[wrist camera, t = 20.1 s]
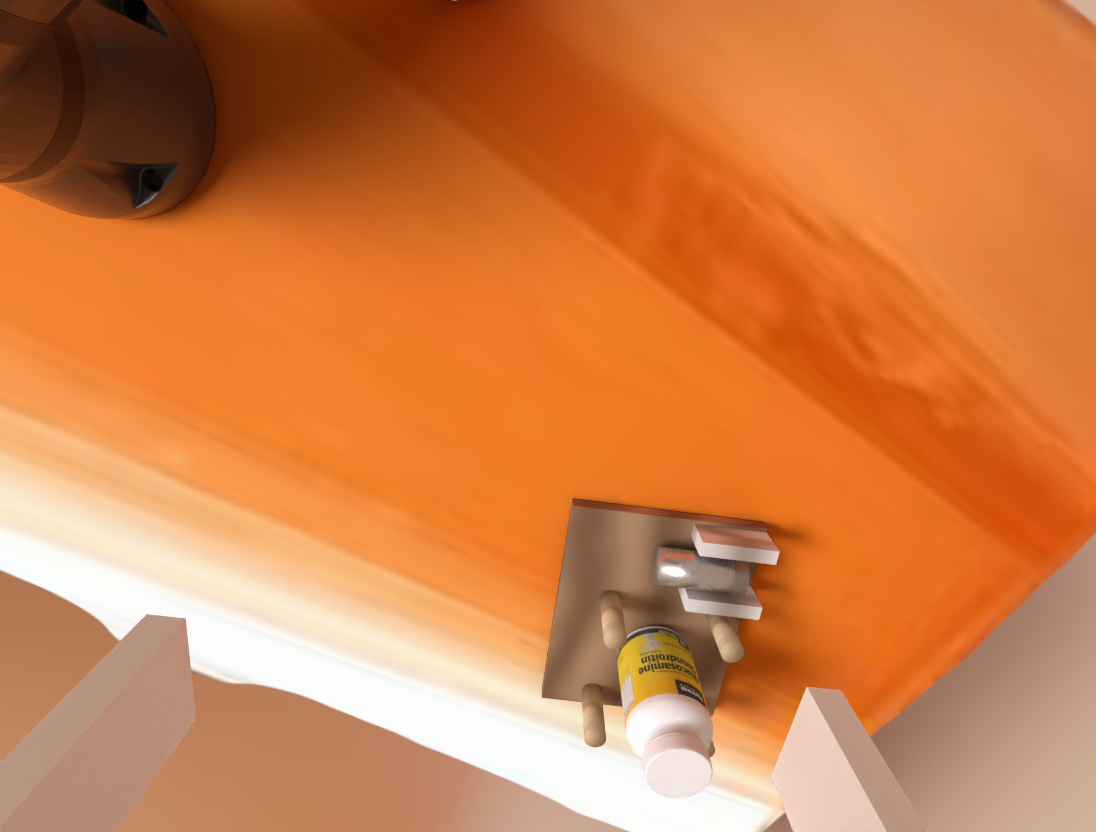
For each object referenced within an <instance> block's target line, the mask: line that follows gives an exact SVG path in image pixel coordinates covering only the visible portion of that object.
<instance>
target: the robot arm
mask: <svg viewBox="0 0 1096 832" xmlns="http://www.w3.org/2000/svg"><path fill="white" fill-rule="evenodd" d="M214 137H215V106H214V99H213V93H212V89H211V84H210V81H209V77H208V74H207V71H206V69H205V66H204V63H203V61H202V59H201V56H200V54H199V52H198V50H197V48H196V46H195V44H194V42H193V41H192V39H191V37H190V36H189V34H188V32H187V31H186V29H185V28H184V26H183V25H182V24H181V22H180V21H179V20H178V18H177V17H176V16H175V15H174V14H173V12H172V11H171V10H170V9H169V8H168V7H167V6H166V5H165V4H164V3H163V2H162V1H161V0H0V184H1V185H3V186H5V187H8V188H10V189H12V190H15V191H17V192H20V193H22V194H24V195H27V196H29V197H31V198H34V199H36V200H39V201H41V202H43V203H46V204H48V205H50V206H53V207H55V208H58V209H60V210H63V211H66V212H69V213H73V214H77V215H81V216H85V217H91V218H100V219H140V218H146V217H150V216H154V215H157V214H160V213H162V212H165V211H167V210H169V209H170V208H172V207H174V206H175V205H177V204H178V203H180V202H181V201H182V200H183V199H185V198H186V197H187V196H188V195H189V194H190V193H191V192H192V190H193V189H194V188H195V187H196V185H197V184H198V182H199V181H200V179H201V178H202V176H203V174H204V172H205V170H206V168H207V165H208V163H209V160H210V157H211V153H212V149H213V144H214ZM195 720H196V714H195V704H194V695H193V685H192V676H191V666H190V657H189V647H188V638H187V628H186V619H184V618H175V617H166V616H157V615H148V614H147V615H146V616H145V617H144V618H143V619H142V620H141V621H140V622H139V623H138V624H137V625H136V626H135V627H134V628H133V629H132V630H131V631H130V632H129V633H128V634H127V635H126V636H125V637H124V638H123V639H122V640H121V641H120V642H119V643H118V644H117V645H116V646H115V647H114V648H113V649H112V650H111V651H110V652H109V653H108V654H107V655H106V656H105V657H104V658H103V659H102V660H101V661H100V662H99V663H98V664H97V665H96V666H95V667H94V668H93V669H92V670H91V671H90V672H89V673H88V674H87V675H86V676H85V677H84V678H83V679H82V680H81V681H80V682H79V683H78V684H77V685H76V686H75V687H74V688H73V689H72V690H71V691H70V692H69V693H68V694H67V695H66V696H65V697H64V698H63V699H62V700H61V701H60V702H59V703H58V704H57V705H56V706H55V707H54V708H53V709H52V710H51V711H50V712H49V713H48V714H47V715H46V716H45V717H44V718H43V719H42V720H41V721H40V722H39V723H38V725H36V726H35V727H34V728H33V730H31V731H30V732H29V733H28V734H27V735H26V736H25V737H24V738H23V739H22V740H21V741H20V742H19V743H18V744H17V746H16V747H14V748H13V749H12V750H11V752H9V753H8V754H7V755H6V756H5V757H4V759H2V761H1V762H0V832H118V831H119V829H120V828H121V826H122V825H123V823H124V822H125V821H126V819H127V818H128V816H129V815H130V813H131V812H132V810H133V809H134V808H135V806H136V805H137V803H138V802H139V800H140V799H141V797H142V796H143V795H144V793H145V792H146V790H147V789H148V787H149V786H150V784H151V783H152V782H153V780H154V779H155V777H156V776H157V774H158V773H159V772H160V770H161V769H162V767H163V766H164V764H165V763H166V761H167V760H168V759H169V757H170V756H171V754H172V753H173V751H174V750H175V748H176V747H177V745H178V744H179V743H180V741H181V740H182V738H183V737H184V735H185V734H186V733H187V731H188V730H189V728H190V727H191V725H192V724H193V722H194V721H195ZM771 777H772V779H773V782H774V784H775V787H776V789H777V792H778V794H779V797H780V800H781V802H782V805H783V807H784V810H785V812H786V815H787V817H788V820H789V822H790V825H791V827H792V829H793V832H928V831H927V829H926V827H925V826H924V824H923V822H922V821H921V819H920V817H919V816H918V814H917V813H916V811H915V809H914V808H913V806H912V805H911V803H910V801H909V800H908V798H907V796H906V795H905V793H904V792H903V790H902V788H901V787H900V785H899V783H898V782H897V780H896V779H895V777H894V775H893V774H892V772H891V771H890V769H889V767H888V766H887V764H886V762H885V761H884V759H883V758H882V756H881V754H880V753H879V751H878V749H877V748H876V746H875V745H874V743H873V741H872V740H871V738H870V736H869V735H868V733H867V732H866V730H865V728H864V727H863V725H862V724H861V722H860V720H859V719H858V717H857V715H856V714H855V712H854V711H853V709H852V707H851V706H850V704H849V702H848V701H847V699H846V698H845V696H844V694H843V693H842V691H841V690H834V689H825V688H815V687H806V690H805V693H804V695H803V698H802V700H801V703H800V705H799V708H798V710H797V713H796V715H795V718H794V720H793V723H792V725H791V728H790V731H789V733H788V736H787V738H786V741H785V743H784V746H783V748H782V751H781V753H780V756H779V758H778V761H777V764H776V766H775V769H774V771H773V774H772V776H771Z"/></svg>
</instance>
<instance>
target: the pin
mask: <svg viewBox="0 0 1096 832" xmlns="http://www.w3.org/2000/svg"><path fill="white" fill-rule="evenodd" d="M652 580H653V583H654V585H661V586H670V587H678V588H687V589H695V590H704V591H712V592H721V593H729V594H737V595H744V594H745V593H746V591H747V589H748V586H749V580H750V570H749V564H748V562H747V561H739V560H730V559H722V558H714V557H705V556H699V553H698V551H693V550H685V549H677V548H669V547H660V546H657V547H656V548H655V550H654V553H653V558H652Z"/></svg>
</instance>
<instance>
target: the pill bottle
mask: <svg viewBox="0 0 1096 832" xmlns="http://www.w3.org/2000/svg"><path fill="white" fill-rule="evenodd" d="M617 666H618V673H619V681H620V689H621V697H622V705H623V713H624V721H625V728H626V734H627V739H628V742H629V744H630V746H631V748H632V749H633V751H634V752H635V753H636V754H637V755H638V756H639V757H640V758H641V759H642V763H643V769H644V774H645V779H646V782H647V784H648V785H649V787H650V788H651V789H652V790H653V791H655V792H656V793H658V794H660V795H662V796H665V797H669V798H685V797H689V796H692V795H695V794H697V793H699V792H700V791H702V790H703V789H704V788H705V787H706V786H707V785H708V784H709V782H710V780H711V778H712V765H711V761H710V757H709V753H708V751H707V750H708V748H709V746H710V744H711V741H712V737H713V725H712V721H711V717H710V714H709V710H708V707H707V704H706V701H705V697H704V694H703V691H702V688H701V684H700V681H699V678H698V675H697V671H696V668H695V665H694V662H693V658H692V655H691V652H690V649H689V647H688V645H687V643H686V641H685V640H684V639H683V638H682V637H681V636H680V635H679V634H678V633H677V632H675V631H673V630H671V629H669V628H666V627H661V626H647V627H643V628H640V629H637V630H635V631H633V632H632V633H630V634H629V635H628V636H627V643H626V645H625V646H624V647H622V648H620V649H618V653H617Z"/></svg>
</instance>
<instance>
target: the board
mask: <svg viewBox="0 0 1096 832" xmlns="http://www.w3.org/2000/svg"><path fill="white" fill-rule="evenodd" d="M767 530H768V529H767V528H766V526H765V525H764V523H763V522H759V521H751V520H743V519H735V518H727V517H718V516H710V515H702V514H694V513H686V512H677V511H669V510H661V509H653V508H645V507H637V506H628V505H620V504H612V503H604V502H596V501H588V500H579V499H572V504H571V510H570V517H569V523H568V529H567V535H566V542H565V548H564V554H563V560H562V567H561V573H560V579H559V585H558V592H557V598H556V604H555V610H554V617H553V623H552V629H551V635H550V642H549V648H548V654H547V660H546V667H545V673H544V679H543V686H542V698H550V699H559V700H568V701H577V702H582V707H583V725H584V741H585V743H586V744H587V745H588V746H591V747H599V746H602V745H603V744H604V743H605V741H606V734H605V724H604V713H603V704H604V705H613V706H622V707H623V705H622V697H621V689H620V681H619V673H618V666H617V653H618V649H620V648H622V647H624V646H625V645H626V643H627V636H628V635H629V634H630V633H632V632H633V631H635V630H637V629H640V628H643V627H647V626H661V627H666V628H669V629H671V630H673V631H675V632H677V633H678V634H679V635H680V636H681V637H682V638H683V639H684V640H685V641H686V643H687V645H688V647H689V649H690V652H691V655H692V658H693V662H694V665H695V668H696V671H697V675H698V678H699V681H700V684H701V688H702V691H703V694H704V697H705V701H706V704H707V707H708V710H709V714H710V716H711V717H712V716H713V713H714V710H715V706H716V703H717V700H718V696H719V693H720V689H721V686H722V683H723V679H724V676H725V672H726V669H727V666H728V662H729V663H734V662H738V661H740V660H741V659H742V658H743V657H744V654H745V651H744V648H743V646H742V644H741V642H740V639H739V637H738V635H737V632H738V628H739V625H740V621H741V618H747V619H755V620H759V618H760V615H761V611H762V608H763V607H762V605H761V604H760V602H759V600H758V598H757V596H756V594H755V593H754V591H753V589H752V587H751V584H752V581H753V577H754V574H755V570H756V567H757V564H758V563H764V564H772V565H776V563H777V559H778V556H779V553H780V551H779V550H778V548H777V547H776V545H775V544H774V542H773V541H772V540H771V538H770V537H769V535H768V534H767ZM657 546H660V547H669V548H677V549H685V550H693V551H698V553H699V556H705V557H714V558H722V559H730V560H739V561H747V562H748V564H749V570H750V580H749V586H748V589H747V591H746V593H745V594H744V595H737V594H729V593H721V592H712V591H704V590H695V589H687V588H678V587H670V586H661V585H654V583H653V580H652V558H653V553H654V550H655V548H656V547H657ZM707 751H708V753H709V757H711V756H713V754H714V753H715V748H714V745H713V741H711V744H710V746H709V748H708V750H707Z"/></svg>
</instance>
